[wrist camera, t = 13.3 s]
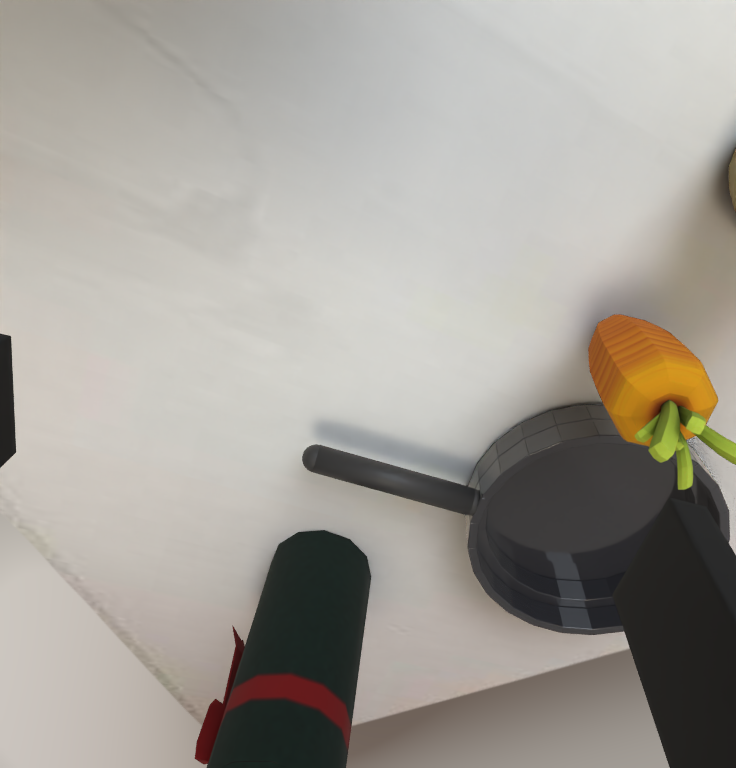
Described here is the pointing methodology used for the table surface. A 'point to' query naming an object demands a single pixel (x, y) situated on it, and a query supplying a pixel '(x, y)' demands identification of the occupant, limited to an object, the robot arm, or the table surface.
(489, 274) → the table surface
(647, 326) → the carrot
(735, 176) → the squeeze bottle
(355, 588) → the wine bottle
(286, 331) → the table surface
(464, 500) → the pan handle
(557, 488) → the pan
